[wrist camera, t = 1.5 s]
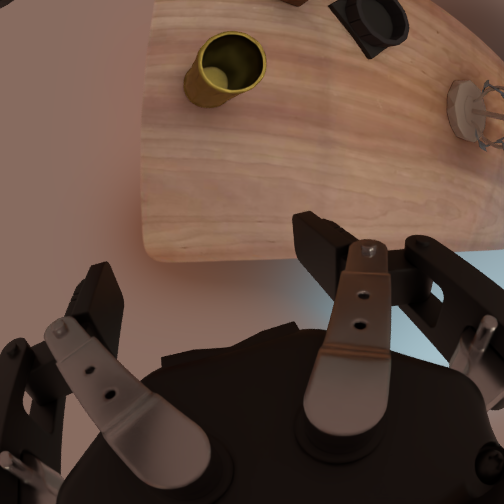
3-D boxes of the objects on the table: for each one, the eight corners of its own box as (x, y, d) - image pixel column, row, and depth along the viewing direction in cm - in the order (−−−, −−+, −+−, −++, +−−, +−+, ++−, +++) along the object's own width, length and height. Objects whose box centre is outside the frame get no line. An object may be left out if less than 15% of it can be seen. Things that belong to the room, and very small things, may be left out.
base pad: (327, 6, 28) (342, -2, 24) (367, -15, 27) (382, -21, 23) (368, 59, 33) (385, 56, 29) (402, 34, 32) (419, 31, 28)
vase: (222, 54, 29) (255, 17, 16) (242, 96, 32) (284, 84, 19) (175, 73, 29) (178, 42, 16) (195, 116, 32) (210, 112, 19)
